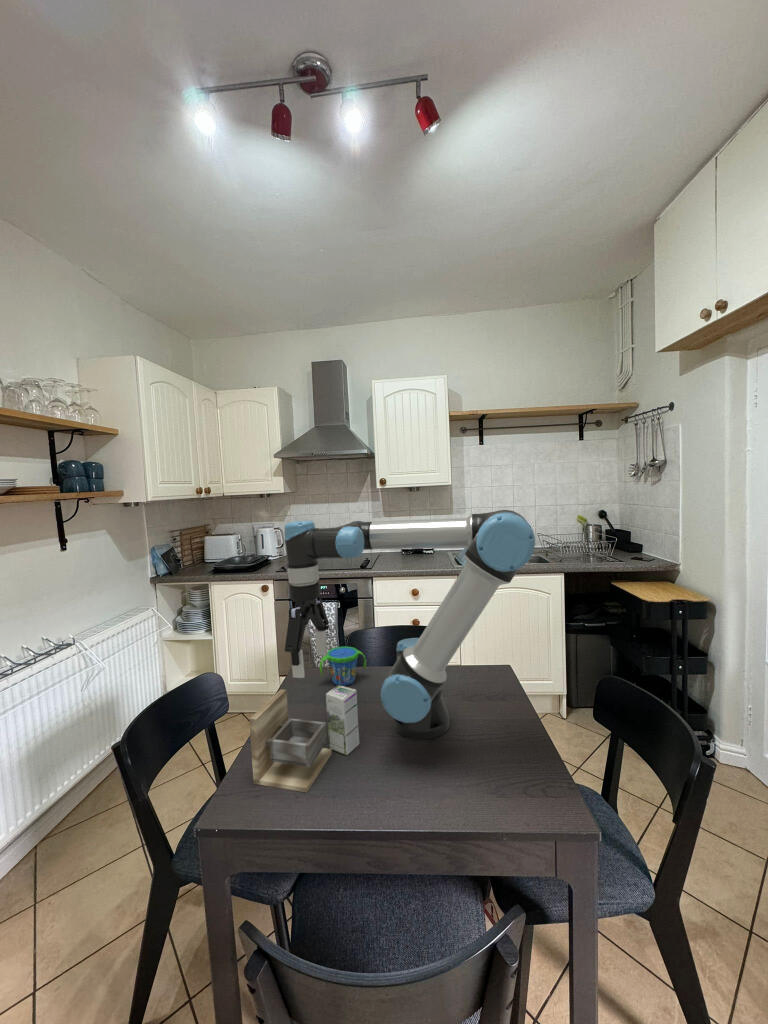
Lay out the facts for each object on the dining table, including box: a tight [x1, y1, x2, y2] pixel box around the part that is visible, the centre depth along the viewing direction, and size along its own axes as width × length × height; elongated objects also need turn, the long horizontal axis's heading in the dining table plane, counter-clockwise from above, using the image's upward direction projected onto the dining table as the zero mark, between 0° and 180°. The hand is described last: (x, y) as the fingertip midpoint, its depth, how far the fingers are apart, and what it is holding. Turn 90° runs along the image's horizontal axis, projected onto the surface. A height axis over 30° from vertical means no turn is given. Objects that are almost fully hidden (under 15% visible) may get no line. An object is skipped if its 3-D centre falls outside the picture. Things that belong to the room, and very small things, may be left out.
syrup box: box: [325, 685, 360, 756], centre depth 109 cm, size 6×6×14 cm
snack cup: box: [319, 646, 367, 687], centre depth 145 cm, size 16×10×10 cm
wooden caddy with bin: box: [248, 688, 333, 793], centre depth 102 cm, size 13×14×15 cm
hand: (311, 665), depth 110 cm, fingers open, 13 cm apart
